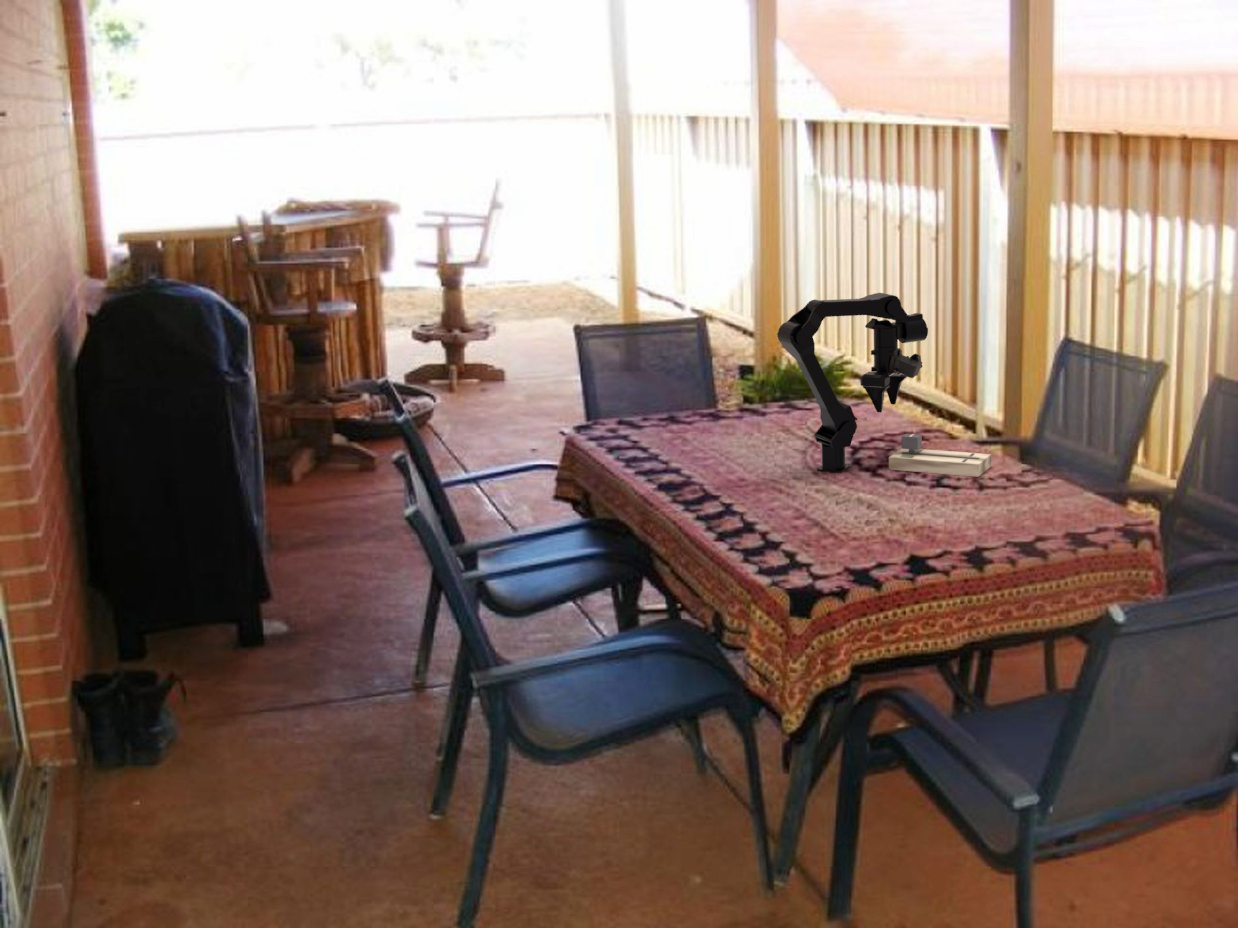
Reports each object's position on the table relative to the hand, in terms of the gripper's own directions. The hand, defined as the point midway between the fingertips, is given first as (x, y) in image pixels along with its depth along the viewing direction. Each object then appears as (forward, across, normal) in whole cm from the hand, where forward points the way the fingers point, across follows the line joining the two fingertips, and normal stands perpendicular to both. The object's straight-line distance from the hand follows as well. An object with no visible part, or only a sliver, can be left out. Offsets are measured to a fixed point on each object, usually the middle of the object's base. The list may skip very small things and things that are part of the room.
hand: (886, 408), depth 370 cm
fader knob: (+10, -4, -8) cm, 13 cm away
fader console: (+13, -4, -15) cm, 20 cm away
